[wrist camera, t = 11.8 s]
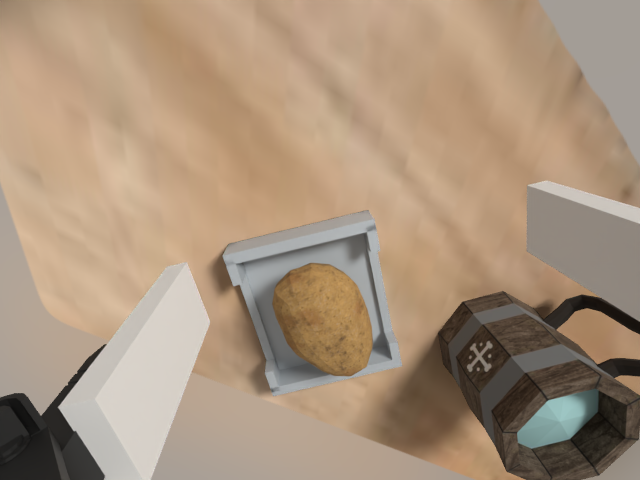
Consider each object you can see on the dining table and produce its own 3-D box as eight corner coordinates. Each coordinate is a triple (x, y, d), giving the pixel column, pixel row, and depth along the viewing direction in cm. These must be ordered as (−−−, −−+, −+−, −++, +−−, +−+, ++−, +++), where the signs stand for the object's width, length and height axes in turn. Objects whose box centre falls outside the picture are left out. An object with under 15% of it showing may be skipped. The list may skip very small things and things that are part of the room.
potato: (317, 359, 45) (321, 409, 37) (255, 274, 40) (245, 311, 33) (385, 323, 43) (403, 367, 36) (329, 231, 39) (336, 260, 31)
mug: (467, 394, 49) (536, 508, 35) (417, 331, 45) (472, 430, 31) (596, 316, 46) (729, 406, 32) (555, 241, 42) (686, 306, 28)
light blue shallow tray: (228, 244, 39) (222, 255, 36) (367, 210, 39) (374, 218, 36) (274, 375, 46) (273, 396, 43) (394, 347, 46) (402, 366, 42)
